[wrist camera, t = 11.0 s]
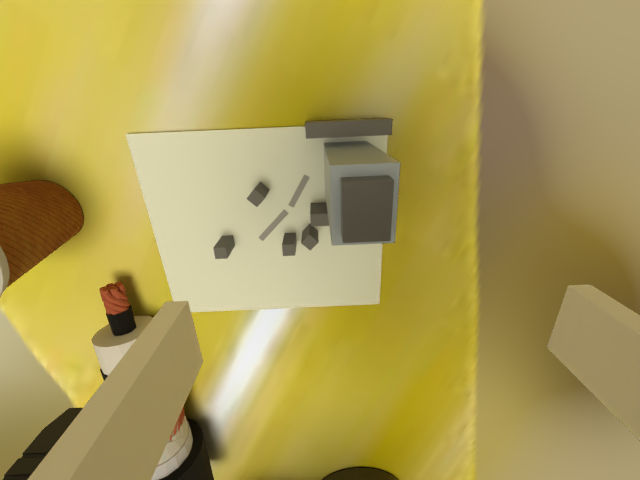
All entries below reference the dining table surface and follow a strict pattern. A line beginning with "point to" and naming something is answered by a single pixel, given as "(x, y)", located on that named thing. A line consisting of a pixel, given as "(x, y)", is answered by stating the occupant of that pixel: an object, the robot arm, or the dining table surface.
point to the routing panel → (254, 216)
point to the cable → (186, 438)
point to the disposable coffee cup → (33, 225)
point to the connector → (360, 193)
